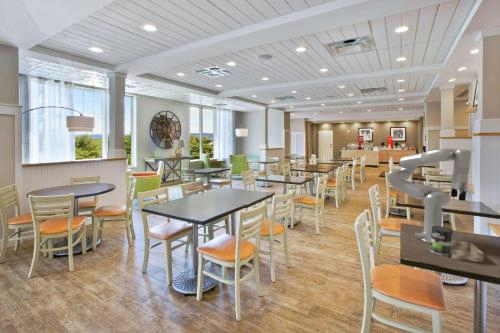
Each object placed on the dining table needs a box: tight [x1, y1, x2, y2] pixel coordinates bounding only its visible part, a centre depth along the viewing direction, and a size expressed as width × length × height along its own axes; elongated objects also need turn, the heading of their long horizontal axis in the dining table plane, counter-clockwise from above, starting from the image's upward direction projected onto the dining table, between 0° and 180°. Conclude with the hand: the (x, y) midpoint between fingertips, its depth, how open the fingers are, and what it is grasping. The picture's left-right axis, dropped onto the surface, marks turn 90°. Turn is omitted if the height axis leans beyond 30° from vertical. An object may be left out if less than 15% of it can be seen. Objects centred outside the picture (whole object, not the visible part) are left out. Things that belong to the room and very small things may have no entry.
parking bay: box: [451, 240, 485, 263], centre depth 159 cm, size 14×16×5 cm
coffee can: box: [429, 225, 454, 256], centre depth 162 cm, size 10×10×14 cm
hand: (457, 198), depth 166 cm, fingers open, 9 cm apart
